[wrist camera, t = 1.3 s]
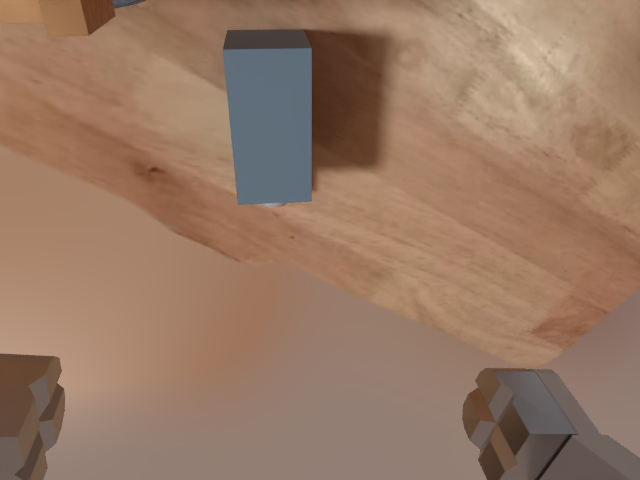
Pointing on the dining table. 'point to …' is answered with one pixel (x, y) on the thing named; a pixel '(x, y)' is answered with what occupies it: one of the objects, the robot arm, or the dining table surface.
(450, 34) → the dining table surface
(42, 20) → the wood-topped grey cylinder
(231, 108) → the blue-grey rectangular block
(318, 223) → the dining table surface
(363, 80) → the dining table surface
